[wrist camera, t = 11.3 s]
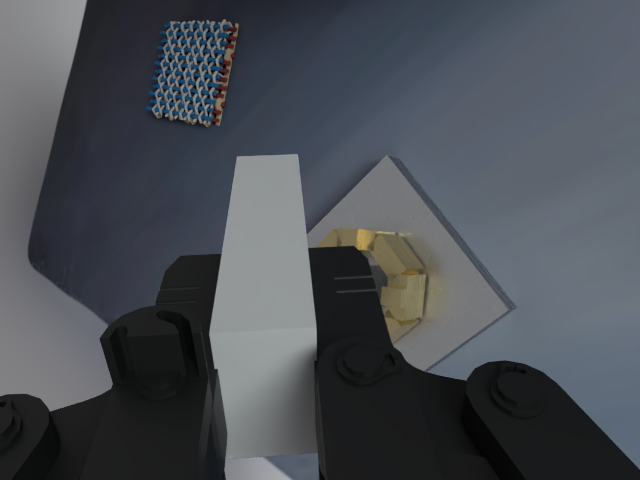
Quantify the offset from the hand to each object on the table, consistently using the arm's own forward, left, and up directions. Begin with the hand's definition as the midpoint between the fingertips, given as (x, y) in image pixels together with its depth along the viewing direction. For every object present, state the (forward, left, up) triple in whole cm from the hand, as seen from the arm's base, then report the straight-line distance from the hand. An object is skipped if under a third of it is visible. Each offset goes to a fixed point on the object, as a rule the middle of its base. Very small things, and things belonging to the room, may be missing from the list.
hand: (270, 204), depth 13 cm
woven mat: (-34, -14, -27) cm, 45 cm away
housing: (-4, -10, -26) cm, 28 cm away
